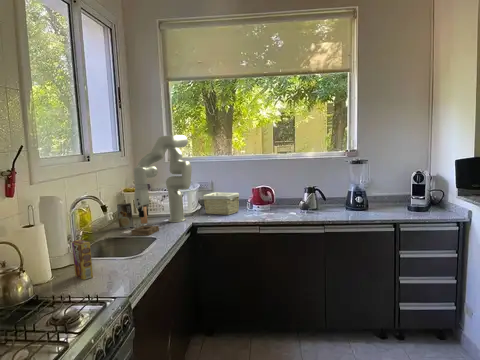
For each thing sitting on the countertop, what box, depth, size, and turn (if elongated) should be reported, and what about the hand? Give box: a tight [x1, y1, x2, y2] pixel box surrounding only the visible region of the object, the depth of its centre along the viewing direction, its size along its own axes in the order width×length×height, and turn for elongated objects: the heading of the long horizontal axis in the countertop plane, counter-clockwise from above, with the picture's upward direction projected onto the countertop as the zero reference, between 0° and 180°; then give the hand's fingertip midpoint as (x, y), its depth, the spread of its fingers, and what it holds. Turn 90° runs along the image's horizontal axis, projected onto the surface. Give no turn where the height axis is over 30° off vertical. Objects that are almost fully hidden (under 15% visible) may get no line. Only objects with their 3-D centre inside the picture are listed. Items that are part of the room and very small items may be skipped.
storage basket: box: [202, 191, 240, 216], centre depth 282 cm, size 24×16×15 cm
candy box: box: [71, 239, 94, 281], centre depth 156 cm, size 9×4×15 cm, turn 47°
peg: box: [140, 206, 148, 225], centre depth 230 cm, size 4×4×10 cm
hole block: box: [130, 225, 160, 236], centre depth 231 cm, size 12×12×3 cm
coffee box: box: [116, 202, 134, 229], centre depth 250 cm, size 9×6×16 cm
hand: (143, 216), depth 230 cm, fingers closed on peg, 4 cm apart
